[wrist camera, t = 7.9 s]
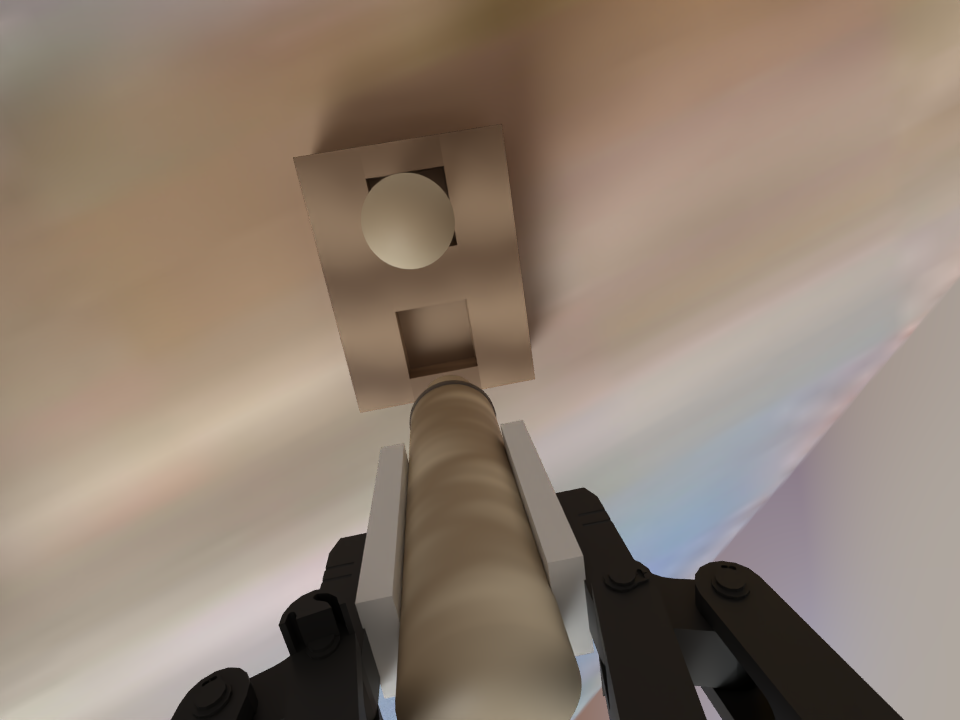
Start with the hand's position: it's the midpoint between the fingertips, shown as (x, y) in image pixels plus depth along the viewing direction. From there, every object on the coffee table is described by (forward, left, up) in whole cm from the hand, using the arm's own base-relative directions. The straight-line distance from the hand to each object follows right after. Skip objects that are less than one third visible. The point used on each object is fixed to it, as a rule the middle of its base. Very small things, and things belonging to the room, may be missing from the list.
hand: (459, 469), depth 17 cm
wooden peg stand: (+4, 0, -21) cm, 21 cm away
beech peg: (0, 0, -6) cm, 6 cm away
